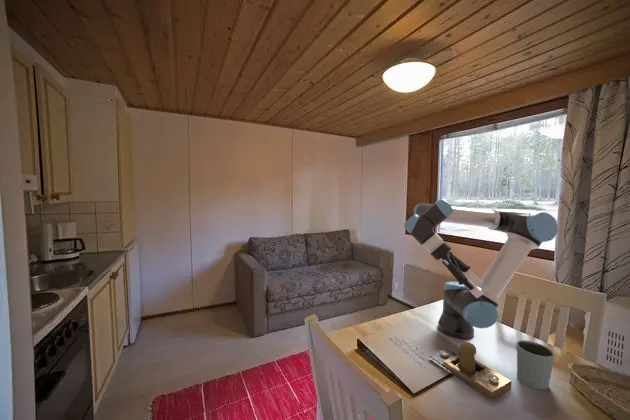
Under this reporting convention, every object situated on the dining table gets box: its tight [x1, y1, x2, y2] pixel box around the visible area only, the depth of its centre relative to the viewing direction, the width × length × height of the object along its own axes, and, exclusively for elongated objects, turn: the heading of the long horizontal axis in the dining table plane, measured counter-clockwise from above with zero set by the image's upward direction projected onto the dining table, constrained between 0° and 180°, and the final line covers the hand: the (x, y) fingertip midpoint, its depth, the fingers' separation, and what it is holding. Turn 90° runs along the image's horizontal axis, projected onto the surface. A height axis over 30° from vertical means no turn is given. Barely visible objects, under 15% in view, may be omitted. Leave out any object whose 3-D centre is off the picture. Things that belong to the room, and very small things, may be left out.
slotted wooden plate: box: [428, 348, 512, 402], centre depth 95 cm, size 23×11×4 cm, turn 28°
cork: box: [457, 341, 477, 376], centre depth 95 cm, size 6×6×11 cm
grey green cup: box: [516, 340, 556, 391], centre depth 91 cm, size 10×10×12 cm
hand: (480, 289), depth 99 cm, fingers open, 13 cm apart
